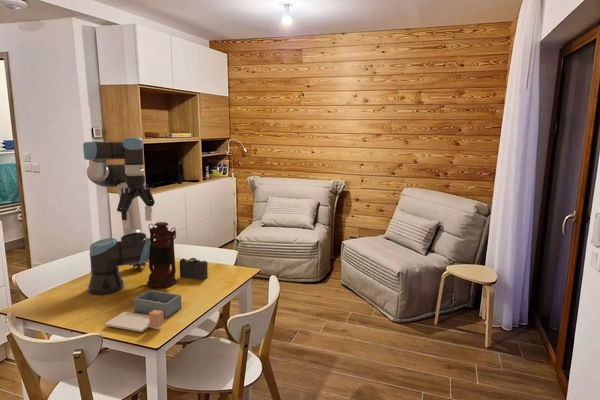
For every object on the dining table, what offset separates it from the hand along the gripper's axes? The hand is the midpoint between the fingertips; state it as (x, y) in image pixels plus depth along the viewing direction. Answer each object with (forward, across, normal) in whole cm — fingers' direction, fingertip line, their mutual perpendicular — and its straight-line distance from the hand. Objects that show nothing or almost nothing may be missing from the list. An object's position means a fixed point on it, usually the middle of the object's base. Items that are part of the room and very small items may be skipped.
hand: (137, 224), depth 174 cm
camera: (+35, +35, -5) cm, 50 cm away
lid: (+35, -20, -14) cm, 43 cm away
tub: (+35, -6, -13) cm, 38 cm away
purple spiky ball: (+35, +33, +30) cm, 57 cm away
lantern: (+35, +19, +4) cm, 40 cm away
